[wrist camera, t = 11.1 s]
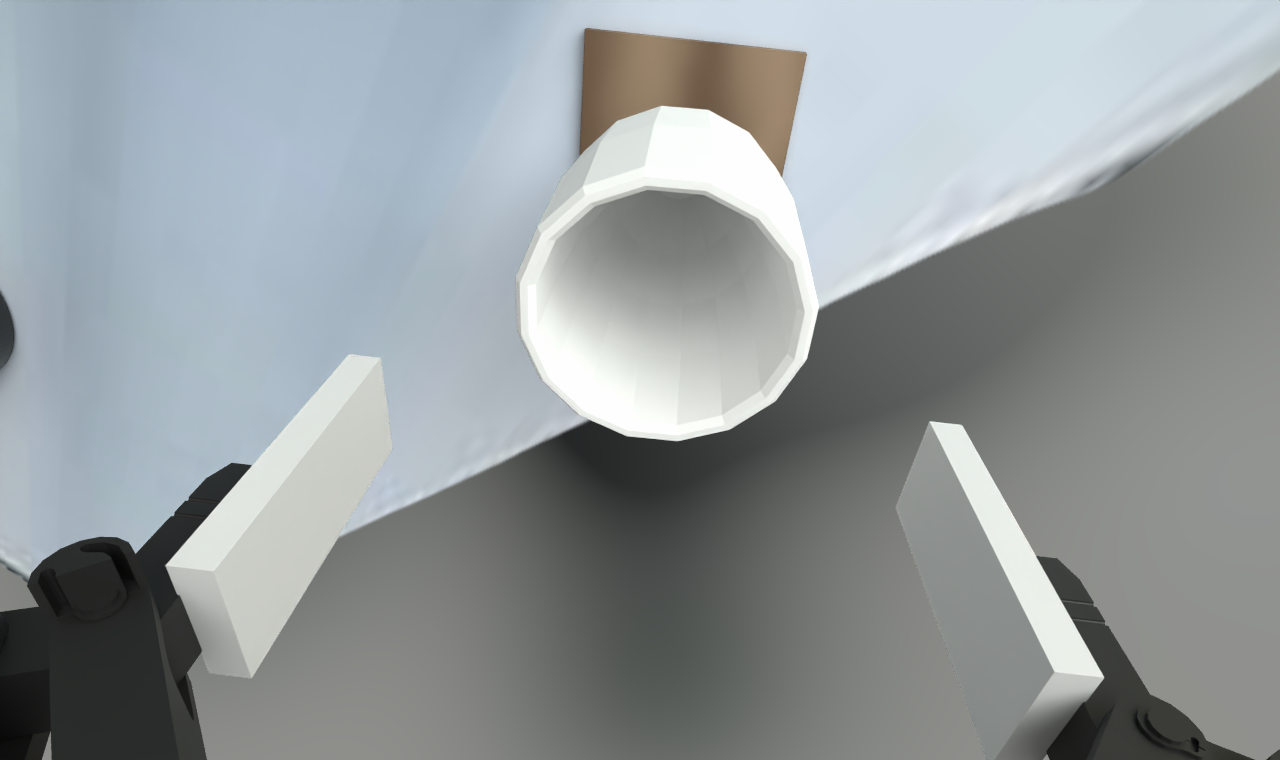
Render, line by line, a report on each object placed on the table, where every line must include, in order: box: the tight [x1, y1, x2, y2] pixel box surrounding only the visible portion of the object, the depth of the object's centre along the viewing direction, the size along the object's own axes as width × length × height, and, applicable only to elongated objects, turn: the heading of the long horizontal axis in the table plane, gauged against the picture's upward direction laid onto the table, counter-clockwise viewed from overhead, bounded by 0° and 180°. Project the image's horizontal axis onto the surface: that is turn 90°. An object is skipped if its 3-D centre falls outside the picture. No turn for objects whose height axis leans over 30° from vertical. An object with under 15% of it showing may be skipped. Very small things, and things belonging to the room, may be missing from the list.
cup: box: [515, 106, 819, 441], centre depth 31 cm, size 10×10×22 cm
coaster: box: [580, 28, 807, 178], centre depth 40 cm, size 12×12×1 cm
